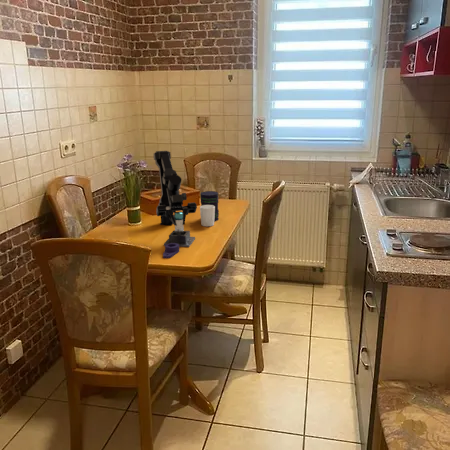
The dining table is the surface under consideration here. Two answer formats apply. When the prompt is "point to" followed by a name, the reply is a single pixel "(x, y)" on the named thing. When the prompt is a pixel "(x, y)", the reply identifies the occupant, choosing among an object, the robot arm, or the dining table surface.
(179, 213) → the teal and silver cylinder
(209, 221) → the white cup
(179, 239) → the docking mount
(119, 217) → the dining table surface
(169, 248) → the lever
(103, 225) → the dining table surface
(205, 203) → the storage jar
